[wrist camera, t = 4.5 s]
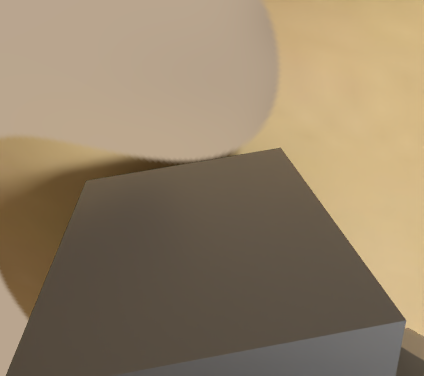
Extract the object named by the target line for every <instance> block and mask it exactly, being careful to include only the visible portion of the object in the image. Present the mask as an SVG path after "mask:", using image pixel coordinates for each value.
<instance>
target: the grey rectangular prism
mask: <svg viewBox="0 0 424 376" xmlns="http://www.w3.org/2000/svg"><path fill="white" fill-rule="evenodd" d="M405 324H406V320H405V318H404V317H403V315H402V314H401V313H400V311H399V310H398V309H397V307H396V306H395V304H394V303H393V302H392V300H391V299H390V298H389V296H388V295H387V293H386V292H385V291H384V289H383V288H382V287H381V285H380V284H379V282H378V281H377V280H376V278H375V277H374V276H373V274H372V273H371V271H370V270H369V269H368V267H367V266H366V265H365V263H364V262H363V260H362V259H361V258H360V256H359V255H358V254H357V252H356V251H355V249H354V248H353V247H352V245H351V244H350V243H349V241H348V240H347V238H346V237H345V236H344V234H343V233H342V232H341V230H340V229H339V227H338V226H337V225H336V223H335V222H334V220H333V219H332V218H331V216H330V215H329V214H328V212H327V211H326V209H325V208H324V207H323V205H322V204H321V203H320V201H319V200H318V198H317V197H316V196H315V194H314V193H313V192H312V190H311V189H310V187H309V186H308V185H307V183H306V182H305V181H304V179H303V178H302V176H301V175H300V174H299V172H298V171H297V170H296V168H295V167H294V165H293V164H292V163H291V161H290V160H289V159H288V157H287V156H286V154H285V153H284V152H283V150H282V149H281V148H277V149H271V150H265V151H259V152H253V153H247V154H241V155H235V156H229V157H224V158H218V159H212V160H206V161H200V162H194V163H188V164H182V165H176V166H170V167H164V168H158V169H152V170H146V171H141V172H135V173H129V174H123V175H117V176H111V177H105V178H99V179H93V180H87V181H86V183H85V185H84V187H83V190H82V192H81V195H80V197H79V199H78V202H77V204H76V207H75V209H74V212H73V214H72V216H71V219H70V221H69V224H68V226H67V229H66V231H65V233H64V236H63V238H62V241H61V243H60V246H59V248H58V250H57V253H56V255H55V258H54V260H53V263H52V265H51V267H50V270H49V272H48V275H47V277H46V280H45V282H44V284H43V287H42V289H41V292H40V294H39V296H38V299H37V301H36V304H35V306H34V309H33V311H32V313H31V316H30V318H29V321H28V323H27V326H26V328H25V330H24V333H23V335H22V338H21V340H20V343H19V345H18V347H17V350H16V352H15V355H14V357H13V360H12V362H11V364H10V367H9V369H8V372H7V374H6V376H396V371H397V366H398V361H399V356H400V350H401V345H402V340H403V334H404V329H405Z"/></svg>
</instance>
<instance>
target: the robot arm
mask: <svg viewBox="0 0 424 376" xmlns="http://www.w3.org/2000/svg"><path fill="white" fill-rule="evenodd" d="M396 376H424V336H422V335H420V334H418V333H416V332H415V331H413V330H411V329H409V328H405V329H404V334H403V340H402V345H401V350H400V356H399V361H398V366H397V371H396Z"/></svg>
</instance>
